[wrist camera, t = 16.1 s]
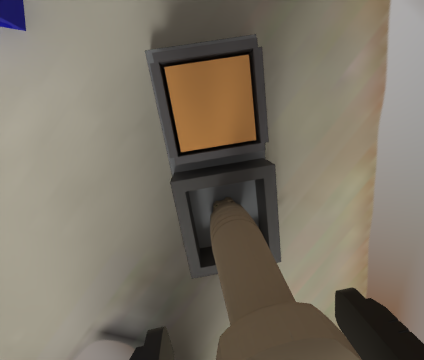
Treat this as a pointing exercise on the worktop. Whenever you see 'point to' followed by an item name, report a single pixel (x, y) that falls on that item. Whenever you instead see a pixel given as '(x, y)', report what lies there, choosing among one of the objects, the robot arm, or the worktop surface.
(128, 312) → the worktop surface
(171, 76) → the button
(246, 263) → the handle
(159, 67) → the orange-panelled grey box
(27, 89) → the worktop surface
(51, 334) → the worktop surface
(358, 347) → the robot arm
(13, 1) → the blue curved piece
